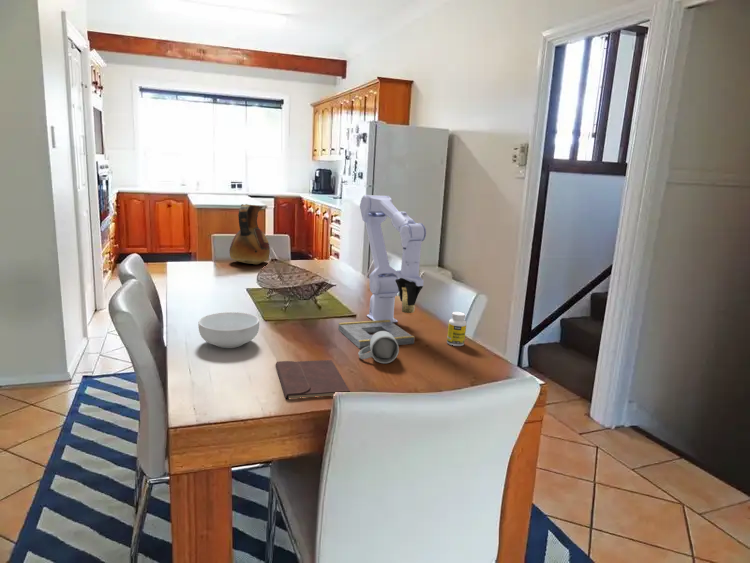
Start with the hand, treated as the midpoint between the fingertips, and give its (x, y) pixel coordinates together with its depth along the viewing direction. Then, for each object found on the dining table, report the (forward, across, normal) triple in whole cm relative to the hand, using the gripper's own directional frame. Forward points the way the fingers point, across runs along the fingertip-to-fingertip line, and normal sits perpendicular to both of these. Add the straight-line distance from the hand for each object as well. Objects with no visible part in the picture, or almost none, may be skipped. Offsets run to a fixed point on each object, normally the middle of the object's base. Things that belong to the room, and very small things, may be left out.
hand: (407, 303), depth 168 cm
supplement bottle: (+10, +14, +10) cm, 20 cm away
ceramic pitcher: (+10, -121, -26) cm, 124 cm away
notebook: (+11, +28, -41) cm, 51 cm away
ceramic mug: (+10, +19, -19) cm, 28 cm away
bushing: (+3, 0, 0) cm, 3 cm away
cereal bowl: (+10, -3, -55) cm, 56 cm away
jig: (+10, +1, -11) cm, 15 cm away
